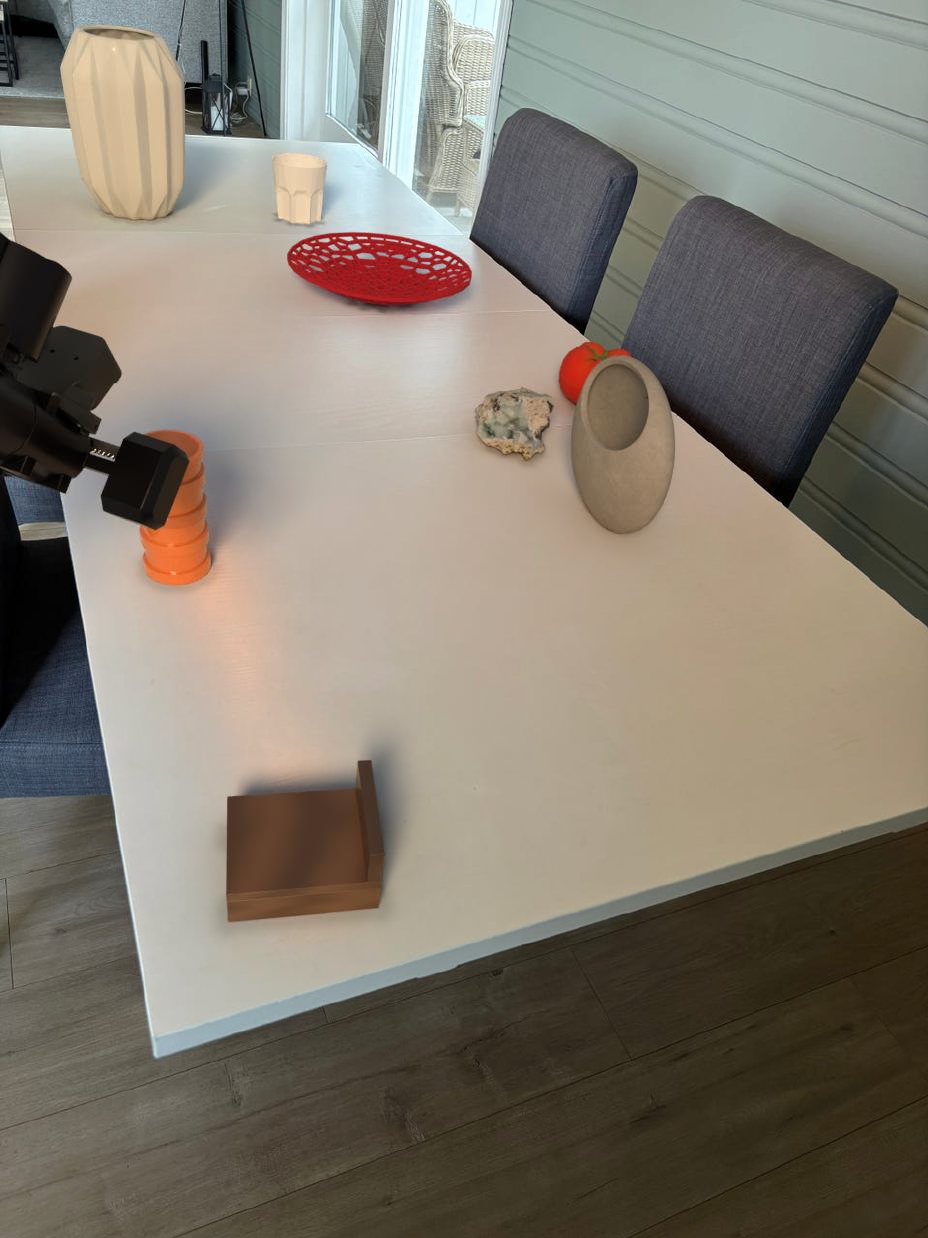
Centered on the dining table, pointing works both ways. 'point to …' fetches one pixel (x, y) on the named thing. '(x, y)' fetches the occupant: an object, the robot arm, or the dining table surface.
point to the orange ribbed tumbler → (180, 522)
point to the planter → (623, 444)
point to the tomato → (582, 366)
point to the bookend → (304, 851)
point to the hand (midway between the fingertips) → (121, 484)
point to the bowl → (379, 269)
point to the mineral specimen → (514, 421)
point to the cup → (299, 186)
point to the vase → (126, 118)
